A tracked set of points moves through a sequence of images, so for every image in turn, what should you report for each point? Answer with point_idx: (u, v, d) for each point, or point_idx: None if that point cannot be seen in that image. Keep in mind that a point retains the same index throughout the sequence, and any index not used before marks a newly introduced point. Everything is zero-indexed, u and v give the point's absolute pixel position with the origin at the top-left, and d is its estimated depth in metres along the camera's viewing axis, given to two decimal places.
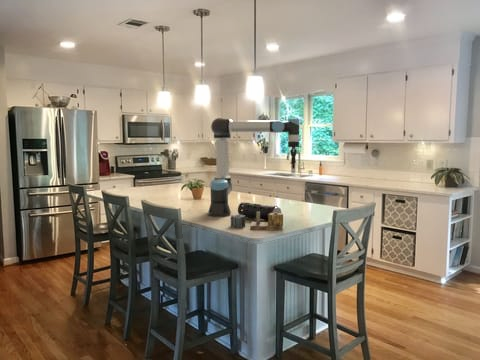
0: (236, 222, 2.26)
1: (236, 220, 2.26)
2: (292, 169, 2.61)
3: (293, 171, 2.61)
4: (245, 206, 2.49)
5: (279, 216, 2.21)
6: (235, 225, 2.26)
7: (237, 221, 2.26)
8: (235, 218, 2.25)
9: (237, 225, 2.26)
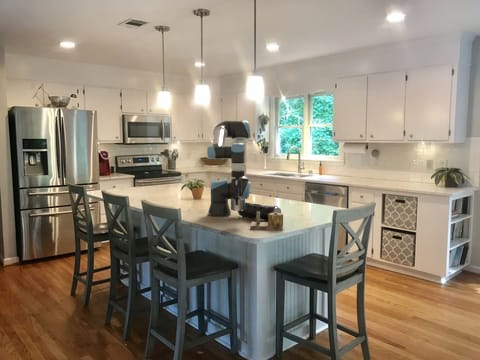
0: None
1: None
2: (235, 206, 2.24)
3: (237, 208, 2.24)
4: (245, 206, 2.49)
5: (279, 216, 2.21)
6: None
7: None
8: None
9: None
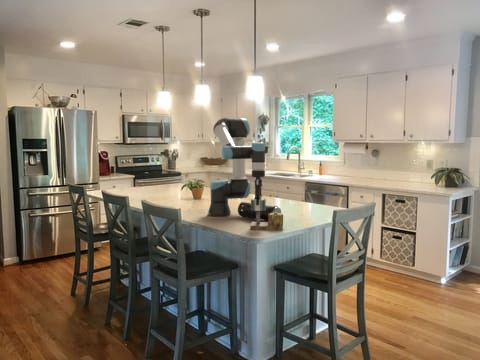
0: None
1: None
2: (256, 206, 2.20)
3: (257, 208, 2.20)
4: (245, 206, 2.49)
5: (279, 216, 2.21)
6: None
7: None
8: None
9: None
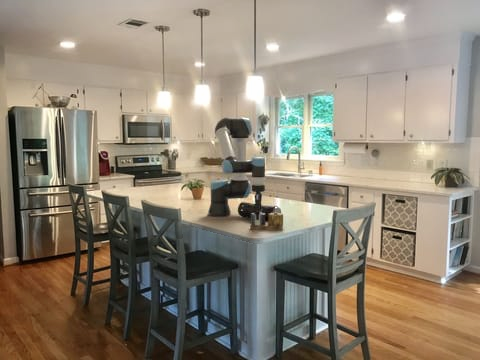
0: None
1: None
2: (256, 221, 2.21)
3: (257, 223, 2.21)
4: (245, 206, 2.49)
5: (279, 216, 2.21)
6: None
7: None
8: None
9: None
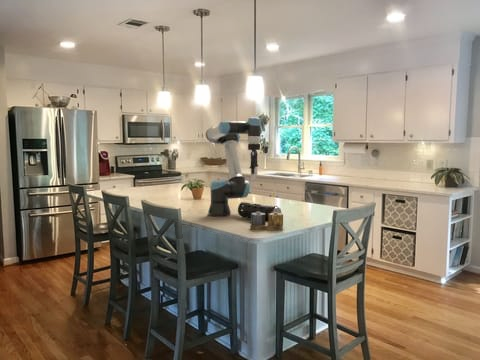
0: (257, 220, 2.22)
1: (257, 218, 2.22)
2: (251, 175, 2.33)
3: (253, 177, 2.33)
4: (245, 206, 2.49)
5: (279, 216, 2.21)
6: (255, 223, 2.22)
7: (258, 219, 2.22)
8: (256, 216, 2.22)
9: (258, 223, 2.22)
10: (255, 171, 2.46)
